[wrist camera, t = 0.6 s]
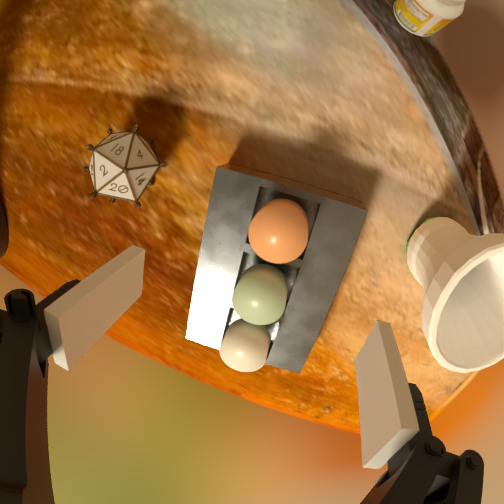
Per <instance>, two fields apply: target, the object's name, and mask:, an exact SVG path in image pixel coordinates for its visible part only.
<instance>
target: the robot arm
mask: <svg viewBox="0 0 504 504" xmlns="http://www.w3.org/2000/svg"><path fill="white" fill-rule="evenodd" d="M7 245H8V229H7V222H6V217H5V213H4V209H3V206H2V203H1V201H0V258H1V257H3V256H4V254H5V252H6V249H7ZM144 257H145V249H142V248H139V247H136V246H134V245H132V246H131V247H129V248H128V249H126V250H125V251H123V252H122V253H120V254H119V255H117V256H116V257H115V258H113V259H112V260H110V261H109V262H107V263H106V264H105V265H103V266H102V267H100V268H99V269H98V270H96V271H95V272H93V273H92V274H91V275H89V276H88V277H86V278H85V279H84V280H82V281H79V280H77V279H76V280H73V281H70V282H67V283H65V284H64V285H63V286H61V287H60V288H59V290H58V289H57V290H56V291H54V292H53V294H50V295H49V296H47V297H46V298H45V299H44V300H42V301H41V302H39V303H38V304H37V305H36V304H35V299H34V295H33V293H32V292H31V291H29V290H27V289H15V290H12V291H10V292H9V293H8V294H6V296H5V298H4V300H5V305H6V309H7V311H4V310H1V309H0V504H55V503H54V496H53V490H52V482H51V474H50V464H49V452H48V435H47V385H48V366H49V364H48V359H47V358H48V357H49V356H50V355H51V354H52V353H53V357H54V361H55V363H56V364H58V365H59V366H61V367H63V368H64V369H66V370H67V371H69V370H70V369H71V368H72V367H73V366H74V365H75V364H76V363H77V362H78V361H79V360H80V358H81V357H82V356H83V355H84V354H85V353H86V352H87V351H88V350H89V348H91V347H92V345H94V343H95V342H96V341H97V340H98V339H99V338H100V337H101V336H102V335H103V334H104V333H105V332H106V331H107V330H108V329H109V328H110V327H111V326H112V325H113V324H114V323H115V322H116V321H117V319H118V318H119V317H120V316H121V315H122V314H123V313H124V312H125V311H126V310H127V309H128V308H129V307H130V306H131V305H132V304H133V303H134V302H135V301H136V300H137V299H138V298H139V297H140V296H141V295H142V282H143V269H144ZM355 370H356V380H357V390H358V401H359V414H360V428H361V443H362V445H361V446H362V467H363V468H374V469H380V468H381V467H382V466H383V465H384V464H385V463H386V462H388V470H387V471H386V472H385V473H384V474H383V475H381V476H380V477H379V478H377V480H375V481H374V483H376V482H377V483H376V484H375V486H374V487H373V488H372V489H371V491H370V492H369V493H368V495H367V496H366V497H365V498H364V500H363V501H362V502H361V503H360V504H481V497H482V488H483V475H484V462H483V459H482V457H481V456H480V455H479V454H478V453H477V452H475V451H474V450H466V451H465V452H464V453H462V454H461V455H460V456H457V455H455V454H452V453H449V452H446V448H445V446H444V444H443V442H442V441H441V440H439V439H438V438H437V437H435V436H433V435H432V431H431V427H430V423H429V419H428V415H427V411H425V410H426V408H425V404H423V403H424V401H423V397H422V394H421V392H420V390H419V389H418V387H417V386H416V384H412V383H408V381H407V378H406V374H405V370H404V367H403V363H402V360H401V357H400V353H399V350H398V347H397V343H396V340H395V337H394V334H393V331H392V328H391V325H390V323H387V322H383V321H379V320H376V322H375V324H374V326H373V328H372V330H371V332H370V334H369V336H368V338H367V339H366V341H365V343H364V345H363V347H362V349H361V350H360V352H359V354H358V356H357V357H356V359H355Z"/></svg>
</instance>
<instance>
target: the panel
mask: <svg viewBox="0 0 504 504" xmlns="http://www.w3.org/2000/svg"><path fill="white" fill-rule="evenodd" d="M279 198H283V199H289V200H292V201H294V202H296V203H297V204H299V205H300V206H301V207H302V208H303V210H304V211H305V213H306V215H307V218H308V224H309V228H308V242H307V245H306V248H305V249H304V251H303V252H302V254H301V255H300V256H299V257H297V258H296V259H295V260H293V261H290V262H287V263H282V264H277V263H271V262H268V261H266V260H264V259H262V258H261V257H259V256H258V255H257V254H256V253H255V252H254V250H253V249H252V247H251V245H250V242H249V236H248V232H249V226H250V224H251V221H252V220H253V218H254V217H255V215H256V214H257V212H258V211H259V210H260V208H261V207H262V206H263V205H264V204H265V203H267V202H269V201H271V200H274V199H279ZM366 213H367V209H366V208H365V207H364V205H363V204H362V203H361V201H358V200H355V199H352V198H349V197H346V196H343V195H340V194H337V193H333V192H330V191H327V190H324V189H321V188H317V187H314V186H311V185H307V184H304V183H301V182H297V181H294V180H290V179H287V178H283V177H280V176H276V175H272V174H269V173H265V172H261V171H258V170H254V169H250V168H246V167H242V166H238V165H234V164H230V163H227V164H224V165H221V166H218V167H217V168H216V173H215V177H214V182H213V187H212V192H211V196H210V201H209V206H208V211H207V216H206V221H205V227H204V232H203V237H202V243H201V248H200V254H199V259H198V265H197V270H196V276H195V282H194V288H193V294H192V300H191V307H190V313H189V319H188V326H187V333H186V338H187V339H189V340H192V341H195V342H198V343H201V344H204V345H207V346H210V347H213V348H216V349H220V345H221V343H222V341H223V339H224V336H225V334H226V332H227V329H228V327H229V326H230V324H231V323H232V322H234V321H235V320H238V319H241V317H240V316H239V315H238V314H237V313H236V311H235V310H234V307H233V304H232V295H233V292H234V290H235V288H236V286H237V284H238V282H239V280H240V278H241V276H242V274H243V273H244V271H245V270H246V269H248V268H249V267H251V266H253V265H256V264H268V265H272V266H274V267H276V268H278V269H279V270H280V271H281V272H282V273H283V274H284V275H285V277H286V279H287V282H288V294H287V300H286V305H285V310H284V312H283V314H282V316H281V317H280V318H279V319H278V320H277V321H275V322H273V323H271V324H267V325H265V326H266V327H267V329H268V330H269V332H270V336H271V340H270V345H269V349H268V354H267V358H266V362H265V364H267V365H271V366H274V367H278V368H282V369H285V370H289V371H293V372H297V373H300V372H301V370H302V368H303V366H304V364H305V362H306V360H307V358H308V355H309V353H310V351H311V349H312V347H313V345H314V343H315V340H316V338H317V336H318V334H319V332H320V329H321V327H322V325H323V323H324V320H325V318H326V316H327V313H328V311H329V309H330V307H331V304H332V302H333V299H334V297H335V295H336V292H337V290H338V287H339V285H340V282H341V280H342V278H343V275H344V272H345V270H346V267H347V265H348V262H349V260H350V257H351V254H352V252H353V249H354V246H355V244H356V241H357V238H358V236H359V233H360V230H361V227H362V225H363V222H364V219H365V216H366Z"/></svg>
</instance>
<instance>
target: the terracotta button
mask: <svg viewBox="0 0 504 504" xmlns="http://www.w3.org/2000/svg"><path fill="white" fill-rule="evenodd" d="M308 228H309V224H308V218H307V215H306V213H305V211H304V210H303V208H302V207H301V206H300V205H299V204H297V203H296V202H294V201H292V200H289V199H283V198H279V199H274V200H271V201H269V202H267V203H265V204H264V205H263V206H262V207H261V208H260V210H259V211H258V212H257V214H256V215H255V217H254V218H253V220H252V221H251V224H250V226H249V232H248V236H249V242H250V245H251V247H252V249H253V250H254V252H255V253H256V254H257V255H258V256H259V257H261V258H262V259H264V260H266V261H268V262H271V263H277V264H282V263H287V262H290V261H293V260H295V259H296V258H297V257H299V256H300V255H301V254H302V252H303V251H304V249H305V248H306V245H307V242H308Z"/></svg>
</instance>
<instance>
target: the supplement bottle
mask: <svg viewBox="0 0 504 504" xmlns="http://www.w3.org/2000/svg"><path fill="white" fill-rule="evenodd" d="M465 1H466V0H396V1H395V2H394V6H393V9H394V14H395V17H396V19H397V20H398V22H399V23H400V24H401V26H402V27H403V28H405V29H406V30H407V31H409V32H411V33H412V34H415V35H418V36H430V35H433V34H434V33H436V32H437V31H439V30H440V29H441V28H443V27H444V26H446V25H447V24H448V23H450V22H451V21H453V20H454V19H455V18H457V17H458V16H459V15H460V14H461V13H462V12H463V9H464V2H465Z"/></svg>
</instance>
